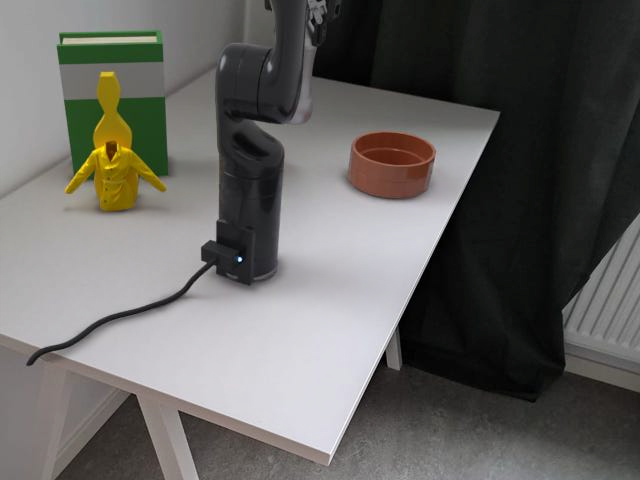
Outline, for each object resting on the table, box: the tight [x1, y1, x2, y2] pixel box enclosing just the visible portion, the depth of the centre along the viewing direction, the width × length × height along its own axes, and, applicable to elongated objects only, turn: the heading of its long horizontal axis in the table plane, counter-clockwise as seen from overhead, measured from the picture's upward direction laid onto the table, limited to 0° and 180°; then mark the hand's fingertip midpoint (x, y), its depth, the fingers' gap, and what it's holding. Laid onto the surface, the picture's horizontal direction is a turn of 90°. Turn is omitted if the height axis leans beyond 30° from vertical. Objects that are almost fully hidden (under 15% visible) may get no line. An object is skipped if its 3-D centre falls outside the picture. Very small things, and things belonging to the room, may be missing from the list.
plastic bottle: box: [286, 4, 318, 126], centre depth 127 cm, size 6×7×20 cm
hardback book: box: [56, 29, 169, 180], centre depth 131 cm, size 18×7×24 cm, turn 96°
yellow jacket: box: [64, 72, 168, 212], centre depth 121 cm, size 18×8×22 cm, turn 93°
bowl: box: [347, 130, 437, 199], centre depth 134 cm, size 15×15×6 cm
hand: (298, 41), depth 124 cm, fingers closed on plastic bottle, 6 cm apart
